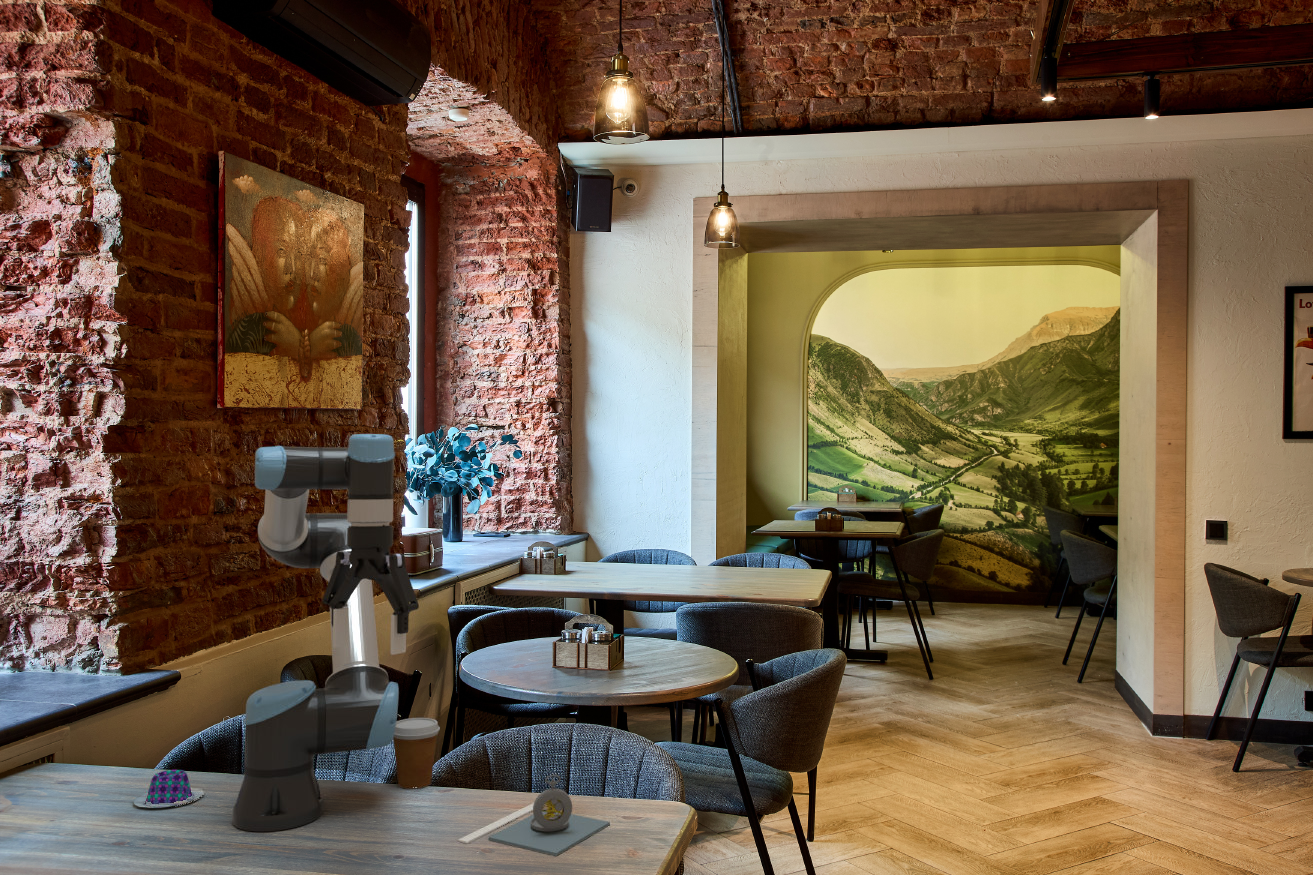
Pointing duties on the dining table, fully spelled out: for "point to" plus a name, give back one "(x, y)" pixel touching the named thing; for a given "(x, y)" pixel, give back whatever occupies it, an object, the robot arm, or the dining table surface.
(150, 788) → the purple domed brimmed part
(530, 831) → the mat
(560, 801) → the pocket watch
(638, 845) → the dining table surface
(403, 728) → the disposable coffee cup
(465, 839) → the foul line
